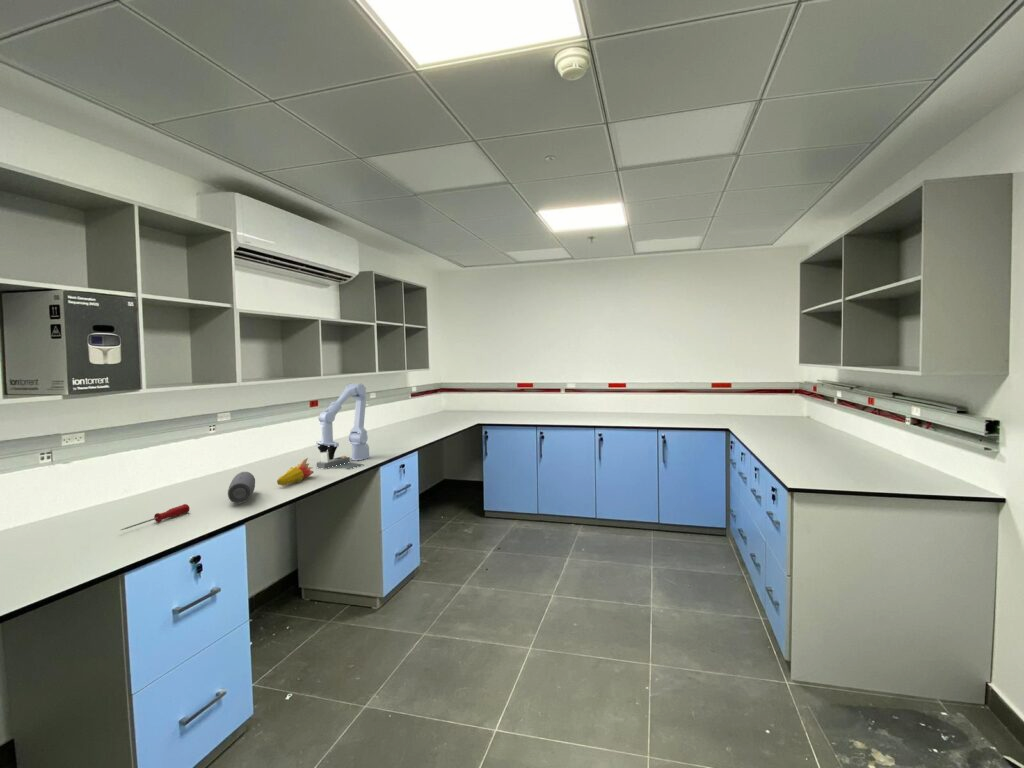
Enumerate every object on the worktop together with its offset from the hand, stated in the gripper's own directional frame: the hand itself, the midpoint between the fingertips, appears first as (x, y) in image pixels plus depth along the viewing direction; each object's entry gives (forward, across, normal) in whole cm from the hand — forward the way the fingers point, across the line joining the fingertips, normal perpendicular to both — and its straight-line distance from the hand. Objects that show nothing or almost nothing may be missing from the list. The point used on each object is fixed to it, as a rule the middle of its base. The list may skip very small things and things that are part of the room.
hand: (327, 458), depth 268 cm
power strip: (+4, 0, +4) cm, 6 cm away
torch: (+5, +11, -31) cm, 33 cm away
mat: (+4, +10, +5) cm, 12 cm away
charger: (+3, 0, 0) cm, 3 cm away
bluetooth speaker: (+4, +16, -61) cm, 63 cm away
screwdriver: (+5, +16, -94) cm, 95 cm away
